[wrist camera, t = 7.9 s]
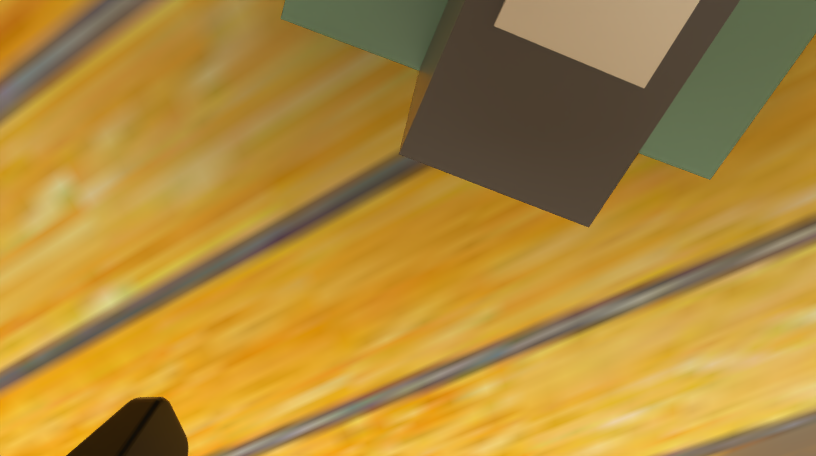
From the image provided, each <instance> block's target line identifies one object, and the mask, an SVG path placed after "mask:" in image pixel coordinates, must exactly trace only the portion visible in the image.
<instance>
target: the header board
mask: <svg viewBox="0 0 816 456" xmlns="http://www.w3.org/2000/svg"><path fill="white" fill-rule="evenodd" d="M447 2H448V0H285V4H284V8H283V12H282V16H281V19H283V20H285V21H288V22H291V23H293V24H296V25H299V26H301V27H304V28H307V29H309V30H312V31H315V32H317V33H320V34H323V35H325V36H328V37H331V38H333V39H336V40H339V41H341V42H344V43H347V44H349V45H352V46H355V47H357V48H360V49H363V50H365V51H368V52H371V53H373V54H376V55H379V56H381V57H384V58H387V59H389V60H392V61H395V62H397V63H400V64H403V65H405V66H408V67H411V68H413V69H416V70H420V67H421V65H422V62H423V60H424V58H425V55H426V53H427V50H428V48H429V46H430V43H431V41H432V38H433V36H434V33H435V31H436V29H437V26H438V24H439V21H440V19H441V17H442V14H443V12H444V9H445V7H446V5H447ZM815 34H816V0H740V1H739V3H738V4H737V6H736V7H735V9H734V10H733V12H732V13H731V15H730V16H729V18H728V19H727V21H726V22H725V24H724V25H723V27H722V28H721V30H720V31H719V33H718V34H717V36H716V37H715V39H714V40H713V42H712V43H711V45H710V46H709V48H708V49H707V51H706V52H705V54H704V55H703V57H702V58H701V60H700V61H699V63H698V64H697V66H696V67H695V69H694V70H693V72H692V73H691V75H690V76H689V78H688V79H687V81H686V82H685V84H684V85H683V87H682V88H681V90H680V91H679V93H678V94H677V96H676V97H675V99H674V100H673V102H672V103H671V105H670V106H669V108H668V109H667V111H666V112H665V114H664V115H663V117H662V118H661V120H660V121H659V123H658V124H657V126H656V127H655V129H654V130H653V132H652V133H651V135H650V136H649V138H648V139H647V141H646V142H645V144H644V145H643V147H642V148H641V150H640V151H639V153H640V154H643V155H645V156H648V157H651V158H653V159H656V160H659V161H661V162H664V163H667V164H669V165H672V166H675V167H677V168H680V169H683V170H685V171H688V172H691V173H693V174H696V175H699V176H701V177H704V178H707V179H709V180H710V179H711V178H712V177H713V175H714V174H715V172H716V171H717V170H718V168H719V167H720V165H721V164H722V163H723V161H724V160H725V158H726V157H727V156H728V154H729V153H730V152H731V150H732V149H733V147H734V146H735V145H736V143H737V142H738V140H739V139H740V138H741V136H742V135H743V133H744V132H745V131H746V129H747V128H748V127H749V125H750V124H751V122H752V121H753V120H754V118H755V117H756V115H757V114H758V113H759V111H760V110H761V109H762V107H763V106H764V104H765V103H766V102H767V100H768V99H769V97H770V96H771V95H772V93H773V92H774V90H775V89H776V88H777V86H778V85H779V84H780V82H781V81H782V79H783V78H784V77H785V75H786V74H787V72H788V71H789V70H790V68H791V67H792V65H793V64H794V63H795V61H796V60H797V59H798V57H799V56H800V54H801V53H802V52H803V50H804V49H805V47H806V46H807V45H808V43H809V42H810V40H811V39H812V38H813V36H814V35H815Z"/></svg>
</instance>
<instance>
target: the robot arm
mask: <svg viewBox="0 0 816 456" xmlns="http://www.w3.org/2000/svg"><path fill="white" fill-rule="evenodd" d="M66 456H188V441H187V437H186V435H185V433H184V431H183V429H182V427H181V424H180V422H179V420H178V418H177V416H176V414H175V412H174V410H173V408H172V406H171V404H170V403H169V401H168V400H166V399H165V398H163V397H140V398H135V399H133V400H131V401H130V402H128V403H127V404H126V405H124V406H123V407H122V408H121V409H120V410H119V411H118V412H116V413H115V414H114V415H113V416H112V417H111V418H109V419H108V420H107V421H106V422H105V423H104V424H102V425H101V426H100V427H99V428H98V429H97V430H95V431H94V432H93V433H92V434H91V435H90V436H89V437H87V438H86V439H85V440H84V441H83V442H82V443H80V444H79V445H78V446H77V447H76V448H75V449H73V450H72V451H71V452H70V453H69V454H68V455H66Z"/></svg>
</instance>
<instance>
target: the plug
mask: <svg viewBox="0 0 816 456" xmlns="http://www.w3.org/2000/svg"><path fill="white" fill-rule="evenodd" d="M739 1H740V0H448V2H447V5H446V7H445V9H444V12H443V14H442V17H441V19H440V21H439V24H438V26H437V29H436V31H435V33H434V36H433V38H432V41H431V43H430V46H429V48H428V50H427V53H426V55H425V58H424V60H423V62H422V65H421V67H420V70H419V74H418V78H417V82H416V86H415V90H414V94H413V98H412V102H411V107H410V111H409V115H408V119H407V123H406V127H405V131H404V135H403V139H402V143H401V148H400V152H399V154H400V155H402V156H405V157H408V158H410V159H413V160H415V161H418V162H420V163H423V164H426V165H428V166H431V167H433V168H436V169H439V170H441V171H444V172H446V173H449V174H452V175H454V176H457V177H459V178H462V179H465V180H467V181H470V182H472V183H475V184H478V185H480V186H483V187H485V188H488V189H490V190H493V191H496V192H498V193H501V194H503V195H506V196H509V197H511V198H514V199H516V200H519V201H522V202H524V203H527V204H529V205H532V206H535V207H537V208H540V209H542V210H545V211H548V212H550V213H553V214H555V215H558V216H561V217H563V218H566V219H568V220H571V221H573V222H576V223H579V224H581V225H584V226H586V227H589V226H590V225H591V223H592V222H593V220H594V219H595V217H596V216H597V214H598V213H599V211H600V210H601V208H602V207H603V205H604V204H605V202H606V201H607V199H608V198H609V196H610V195H611V193H612V192H613V190H614V189H615V187H616V186H617V184H618V183H619V181H620V180H621V178H622V177H623V175H624V174H625V172H626V171H627V169H628V168H629V166H630V165H631V163H632V162H633V160H634V159H635V157H636V156H637V154H638V153H639V151H640V150H641V148H642V147H643V145H644V144H645V142H646V141H647V139H648V138H649V136H650V135H651V133H652V132H653V130H654V129H655V127H656V126H657V124H658V123H659V121H660V120H661V118H662V117H663V115H664V114H665V112H666V111H667V109H668V108H669V106H670V105H671V103H672V102H673V100H674V99H675V97H676V96H677V94H678V93H679V91H680V90H681V88H682V87H683V85H684V84H685V82H686V81H687V79H688V78H689V76H690V75H691V73H692V72H693V70H694V69H695V67H696V66H697V64H698V63H699V61H700V60H701V58H702V57H703V55H704V54H705V52H706V51H707V49H708V48H709V46H710V45H711V43H712V42H713V40H714V39H715V37H716V36H717V34H718V33H719V31H720V30H721V28H722V27H723V25H724V24H725V22H726V21H727V19H728V18H729V16H730V15H731V13H732V12H733V10H734V9H735V7H736V6H737V4H738V3H739Z"/></svg>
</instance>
